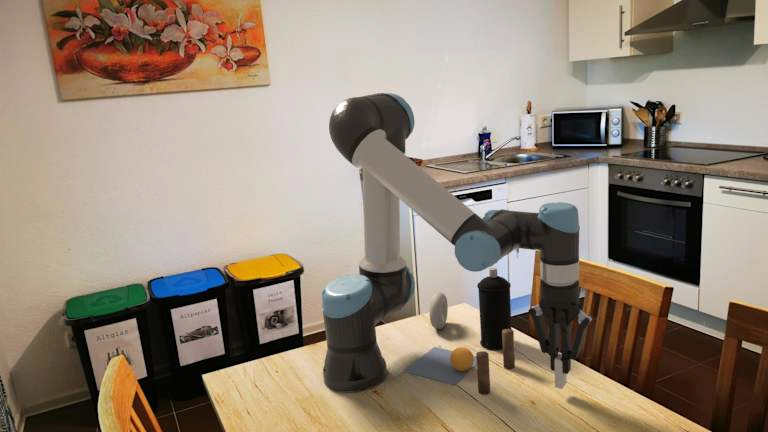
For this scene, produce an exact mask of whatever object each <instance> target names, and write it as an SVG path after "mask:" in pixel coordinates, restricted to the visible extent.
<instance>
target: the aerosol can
mask: <svg viewBox="0 0 768 432" xmlns="http://www.w3.org/2000/svg"><path fill="white" fill-rule="evenodd" d="M488 271H489V273H488V274H489V276H486V277H484V278H482V279H481V280H480V281H479V282H478V283H477V285H476V287H477V288H478V306H479V319H480V320H479V324H480V342H479V344H480V346H481V347H483V348H484V349H486V350H489V351H503V341H502V330H504V329H512V312H511V311H512V310H511V286H512V284H511V283H510V281H508V280H507V279H506V278H504V277H502V276H499V275H498V268H497V267H489V269H488Z"/></svg>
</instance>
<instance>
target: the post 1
mask: <svg viewBox="0 0 768 432" xmlns="http://www.w3.org/2000/svg"><path fill="white" fill-rule="evenodd" d="M475 355H476V359H477V366H476V374H477V377H476V378H477V392H478V393H477V394H479V395H482V396H487V395H489V394H491V379H490V374H491V373H490V358H489V353H488V352H487V351H484V350H483V351H478V352H476V353H475Z"/></svg>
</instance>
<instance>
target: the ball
mask: <svg viewBox="0 0 768 432" xmlns="http://www.w3.org/2000/svg"><path fill="white" fill-rule="evenodd" d="M452 351H453V352H452V353H451V356H450V362H451V365H452V366H453V368H455V369H456V370H458V371H466V370H468V369H470V368H471V367H472V365H473V362H474V357H473V356H474V355H473V352H472V351H471V350H470V349H469V348H467V347H464V346H461V347H460V346H459V347H457V348H455V349H453V350H452Z"/></svg>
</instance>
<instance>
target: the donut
mask: <svg viewBox="0 0 768 432" xmlns="http://www.w3.org/2000/svg"><path fill="white" fill-rule="evenodd" d="M448 308H449V307H448V299H447V296H446V294H444V292H441V291H438V292H435V293H434V294H433V295H432V297H431V300H430V304H429V322H430V324H431V326H432V327H433V328H434V329H436V330H441V329H443V328H444V327H445V325H446V322H447V321H448V320H447V319H448V310H449V309H448Z"/></svg>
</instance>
